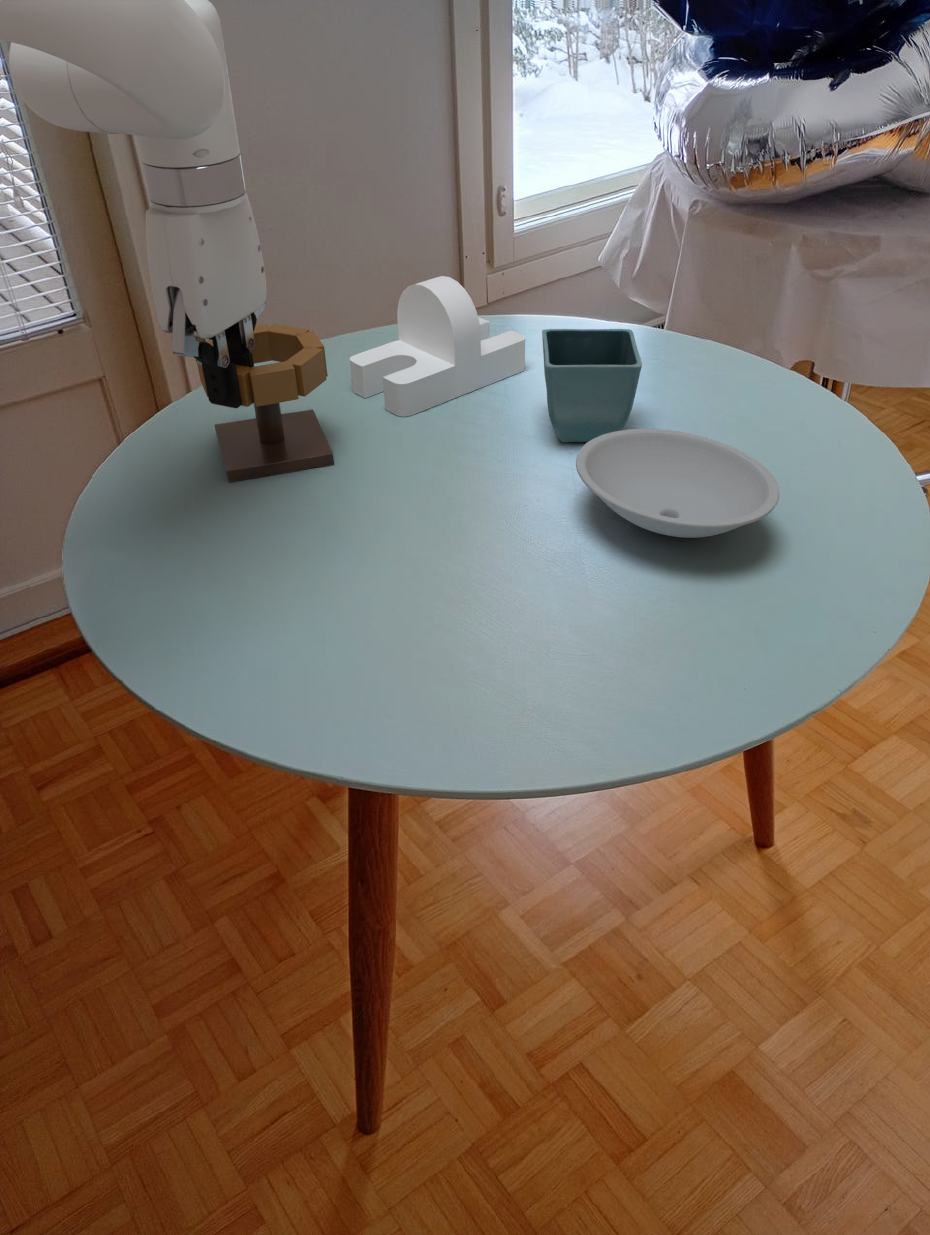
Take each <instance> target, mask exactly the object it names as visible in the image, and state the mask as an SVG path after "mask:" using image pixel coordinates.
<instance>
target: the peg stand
mask: <svg viewBox="0 0 930 1235" xmlns="http://www.w3.org/2000/svg"><path fill="white" fill-rule="evenodd" d="M253 408H254V414H255V418H248V419H241V420H235V421H229V422H223V423H222V422H221V423H216V424H214V429H215V434H216V439H217V443H218V446H219V450H220V454H221V458H222V462H223V466H224V470H225V473H226V477H227V482H228V483H233V482H240V481H244V480H250V479H256V478H262V477H267V476H275V475H280V474H287V473H292V472H297V471H305V470H310V469H315V468H323V467H327V466H334V465H335V458H334V453H333V451H332V448H331V446H330V444H329V442H328V440H327V437H326V435H325V432H324V430H323V429H322V426H321V423H320V422H319V419H318V417H317V414H316V412H315V410H314V409H305V410H300V411H293V412H287V413H282V410H281V402H280V403H275V404H269V405H264V406H258V407H256V406H255V404H254V403H253Z"/></svg>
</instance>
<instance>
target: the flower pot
mask: <svg viewBox="0 0 930 1235" xmlns="http://www.w3.org/2000/svg"><path fill="white" fill-rule="evenodd" d="M541 336H542V338H541V339H542V352H543V353H542V354H543V370H544V380H545V387H546V388H545V389H546V401H547V411H548V416H549V420H550V423H551V426H552V429H553V431H554V432H555V435H556V436H557V438H558V439H559V440H560V442H563V443H587V442H589V441H590V440H592V439H594V438H596V437H598V436H601V435H604V434H607V433H611V432H615V431H621V430H623V428H624V427H625V425H626V424H627V421H628V419H629V418H630V415H631V412H632V410H633V406H634V402H635V398H636V393H637V389H638V385H639V380H640V377H641V376H640V375H641V371H642V366H643V363H642V359H641V356H640V353H639V348H638V346H637V342H636V338H635V334H634V331H633V330H632V329H630V328H546V329H542V330H541Z"/></svg>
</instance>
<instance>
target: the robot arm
mask: <svg viewBox="0 0 930 1235" xmlns="http://www.w3.org/2000/svg"><path fill="white" fill-rule="evenodd" d="M223 35H224V34H223V29H222V24H221V18H220V16H219V13H218V10H217V9H216V7H215V6H214V5H213V3H212V2H211V1H209V0H0V40H1V41H6V42H9V43H10V45H9V51H8V66H9V72H10V76H11V79H12V82H13V85H14V88H15V90H16V92H17V94H18V95H19V97H20V98H21V100H22V101H23V102H24V104H25V105H26V106H27V107H28V108H29V109H30V110H31V111H32V112H33V113H34V114H36V115H37V117H40V118H41V119H43V120H44V121H46V122H48V123H50V124H52V125H54V126H56V127H59V128H63V129H66V130H71V131H77V132H84V133H94V134H95V133H96V134H106V135H107V134H108V135H121V134H122V135H130V136H131V135H132V136H135V138H136V143H137V148H138V153H139V157H140V162H141V166H142V171H143V176H144V182H145V186H146V190H147V195H148V201H149V206H150V207H149V208H148V209H146V210H145V244H146V246H145V247H146V257H147V258H146V259H147V265H148V272H149V280H150V286H151V292H152V299H153V304H154V309H155V314H156V319H157V322H158V326H159V328H160V330H161V331H162V332H163V333H167V334H171V333H172V337H171V338H172V339H171V352H172V354H173V355H175V356H180V357H185V358H194V360H195V362H196V364H197V363H199V364H202V368H203V373H204V378H205V383H206V388H207V394H208V397H207V399H208V401H209V402H210V404H211V405H215V406H216V405H217V406H222V407H227V408H232V409H239V408H240V407H241V405H242V400H241V395H240V389H239V383H238V377H237V370H236V366H235V365H241V366H247V367H255V364H254V362H253V356H252V353H251V352H249V351H252V350H253V349H254V347H255V339H254V333H253V332H254V329H255V326H257V322H258V321H257V320H258V319H259V317H260V316H261V314H262V313H263V312H264V310H265V308H266V303H267V302H266V300H267V297H268V286H267V276H266V268H265V261H264V257H263V251H262V246H261V242H260V236H259V233H258V228H257V225H256V221H255V216H254V212H253V210H252V206H251V202H250V199H249V196H248V193H247V189H246V183H245V177H244V176H245V175H244V170H243V164H242V156H241V151H240V150H241V149H240V142H239V136H238V128H237V123H236V115H235V109H234V102H233V95H232V89H231V83H230V82H231V81H230V76H229V69H228V62H227V55H226V49H225V41H224V36H223ZM209 339H210V340H212V342H213V346H212V345H211V344H209V343H207V342H206V341H207V340H209Z"/></svg>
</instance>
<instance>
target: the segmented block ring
mask: <svg viewBox="0 0 930 1235" xmlns="http://www.w3.org/2000/svg"><path fill="white" fill-rule="evenodd" d="M253 333H254V339H255V347H254V349H253V350H252V351H249V352H251V353H252V356H253V362H254V367H247V366H241V365H235V366H236V370H237V377H238V383H239V389H240V395H241V400H242V405H241V406H242V407H246V408H249V407H250V406H252V405H254V404H255V406H256V407H258V406H264V405H269V404H275V403H280V404H281V403H286V402H291V401H297V400H299V399H300V398H299V397H304V398H306V396H308V395H309V394H311V393H312V392H313V391H314V390H315V389H317V388H318V387H319V386H320V385H322V384H324V382H326V381H327V377H328V376H329V375H328V368H327V367H328V366H327V358H326V350H325V349H326V348H325V346H324V343H323V342H322V341H321V339H320V338H319V336H317V334H316V332H315V331H313V330H312V331H310V328H303V327H297V326H292V325H291V326H290V325H283V324H279V323H274V324H272V325H271V326H269V324H268V323H264V324H258V325H257V324H256V326H255V329H254V332H253ZM206 342H207V343H209V344H211V345H212V346H213V342H212V340H210V339H207V340H206ZM271 361H272V363H268V364H262V365H261V364H260V363H267V362H271ZM273 362H274V363H273ZM255 364H260V365H255ZM196 365H197V369H198V376H199V380H200V383H201V385H202V387H203V388H202V389H203V390H204V392H205V395H206V397H207V398H208V394H207V388H206V383H205V378H204V373H203V368H202V364H199V363H197V362H196ZM241 406H240V407H241Z"/></svg>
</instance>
